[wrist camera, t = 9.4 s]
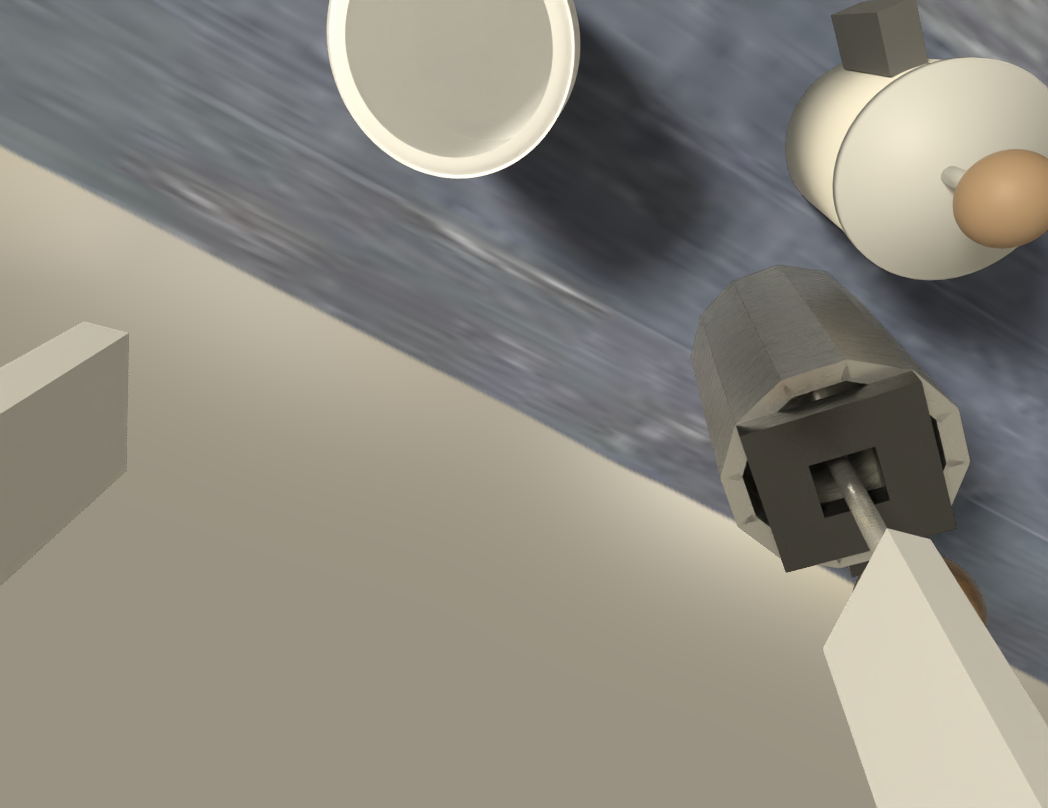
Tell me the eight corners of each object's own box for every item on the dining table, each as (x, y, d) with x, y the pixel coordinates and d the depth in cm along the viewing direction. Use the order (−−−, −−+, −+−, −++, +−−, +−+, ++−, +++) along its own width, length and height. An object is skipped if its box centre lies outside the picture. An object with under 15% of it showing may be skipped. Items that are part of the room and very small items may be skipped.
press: (843, 241, 49) (951, 339, 34) (892, 430, 54) (1006, 591, 38) (671, 302, 52) (697, 418, 36) (732, 476, 57) (778, 644, 41)
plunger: (858, 309, 43) (1050, 526, 24) (890, 433, 46) (1085, 713, 27) (714, 357, 45) (788, 592, 26) (753, 473, 48) (846, 760, 29)
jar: (620, 70, 46) (624, 87, 33) (476, 171, 49) (426, 225, 36) (517, -106, 43) (474, -169, 30) (371, 14, 46) (272, 7, 33)
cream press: (923, -29, 43) (1157, -72, 24) (964, 185, 47) (1190, 283, 29) (749, 45, 45) (845, 56, 27) (804, 242, 49) (918, 367, 31)
